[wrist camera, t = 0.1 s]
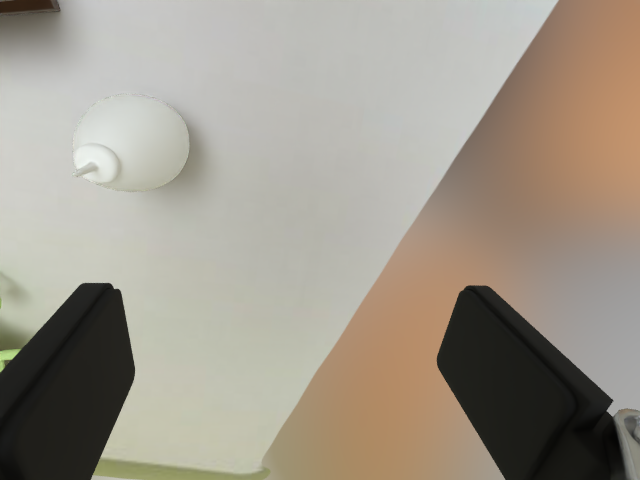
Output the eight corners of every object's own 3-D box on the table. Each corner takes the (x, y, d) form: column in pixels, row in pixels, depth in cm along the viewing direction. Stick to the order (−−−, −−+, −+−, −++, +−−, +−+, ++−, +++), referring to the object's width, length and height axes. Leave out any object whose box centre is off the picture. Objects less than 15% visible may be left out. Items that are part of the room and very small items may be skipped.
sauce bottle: (121, 160, 35) (2, 227, 19) (119, 83, 32) (-23, 85, 16) (196, 174, 37) (145, 245, 21) (202, 102, 34) (147, 121, 18)
